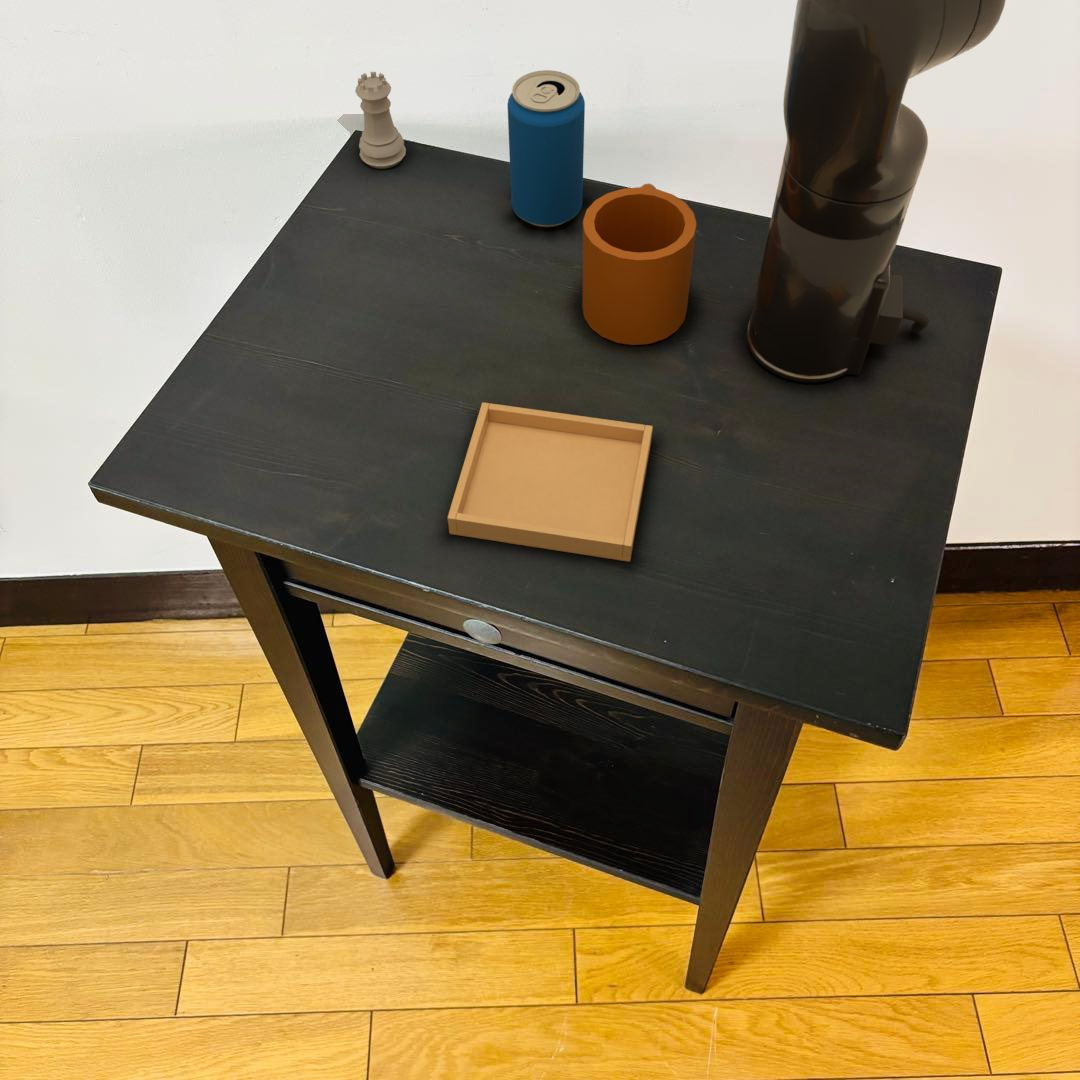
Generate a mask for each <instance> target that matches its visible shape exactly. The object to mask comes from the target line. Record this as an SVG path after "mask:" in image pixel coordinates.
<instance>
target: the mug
mask: <svg viewBox="0 0 1080 1080" xmlns="http://www.w3.org/2000/svg"><path fill="white" fill-rule="evenodd" d="M696 233H697V221H696V217H695V213H694V212H693V209H691V208H690V206H689V204H687V203H686V202H685V201H683V200H682V199H681V198H679V197H678V196H677V195H674V194H673V193H671V192H670V193H669V192H667V191H663V190H661V189H658V188H656V186H655V185H654V184H651V183H644V184H643V185H641V186H638V187H626V188H625V187H624V188H621V189H617V190H614V191H611V192H607V193H606V194H604V195H601V196H600V197H599V198H597V199H595V200H594V201H593V202H592V203H591V205H589V207H588V208H586V210H585V214H584V217H583V220H582V305H581V306H582V313H583V318H584V320H585V321H586V323H587V324H588V326H589V327H590V329H591V330H592V331H594V332H595V333H597V334H598V335H599V336H600V337H602V338H604V339H607V340H609V341H611V342H614V343H617V344H623V345H629V346H640V345H650V344H653V343H657V342H661V341H663V340H666V339H667V338H668V337H670V336H672V335H673V334H675V333H676V332H677V331H678V330H679V329H680V328H681V326H682V325H683V324H684V322H685V320H686V315H687V311H688V304H689V294H690V285H691V277H692V268H693V258H694V249H695V242H696Z"/></svg>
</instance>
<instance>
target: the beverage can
mask: <svg viewBox="0 0 1080 1080" xmlns="http://www.w3.org/2000/svg"><path fill="white" fill-rule="evenodd" d="M511 91H512V92H511V94H510V95H509V96H508V100H507V124H508V145H509V146H508V151H509V154H508V155H509V172H510V174H509V176H510V198H511V199H510V200H511V201H510V202H511V203H510V204H511V208H512V211H513V212H514V213H515V215H516V217H518V218H519V219H521V220H523V221H524V222H526V223H529V224H531V225H534V226H536V227H542V228H551V227H557V226H560V225H563V224H564V223H566V222H569V221H571V220H572V219H574V218H575V217H576V216H577V215H578V214H579V213H580V211H581V209H582V207H583V198H584V197H583V193H584V191H583V190H584V189H583V188H584V187H583V186H584V151H585V112H586V102H585V98H584V96H583V94H582V92H581V88H580V84H579V82H578V81H577V80H576V79H575V78H574V76H573V77H572V76H571V75H570V74H568V73H565V72H562V71H558V70H550V69H546V70H545V69H543V70H536V71H531V72H528V73H526V74H523V75H522V76H521V77H519V78H518V79H516V81H515V82H514V83H513V85H512V88H511Z"/></svg>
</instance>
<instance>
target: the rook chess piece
mask: <svg viewBox="0 0 1080 1080" xmlns="http://www.w3.org/2000/svg"><path fill="white" fill-rule="evenodd" d="M360 77H361V78H360ZM360 77H359V78H357V85H356V87H355V91H354V92H355V93H356V96H357V97H358V98H359V99H360V100H361V102H360V105H359V106H360V109H361V111H363V127H364V128H363V131H361V136H360V137H359V144H358V148H359V150H360V151H359V157H360V159H361V161H362V162H364V164H366V165H367V166H369V167H371V168H373V169H378V170H379V169H380V170H381V169H389V168H393V167H395V166H397V165H399V164H400V162H401V161H403V159H404V157H405V156H406V152H407V148H406V146H405V140H404V137H403V136H402V134H401V132H399V130H398V129H397V127H396V126H395V125H394V122H393V118H392V115H391V109H390V107H391V105H392V102H391V100H390V98H388V96H389V95H390V93H391V91H392V86H391V84H390V83H389V82H388V81H387V78H386V77H385V75H384V74H383V73H381V72H379V73H378V76H377V71H370V76H368V74H367V73H366V72H364V73H363V74H361V75H360Z"/></svg>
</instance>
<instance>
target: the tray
mask: <svg viewBox="0 0 1080 1080" xmlns="http://www.w3.org/2000/svg"><path fill="white" fill-rule="evenodd" d="M653 429H654V425H648V424H642V423H635V422H627V421H619V420H613V419H606V418H599V417H591V416H585V415H577V414H570V413H563V412H562V413H561V412H555V411H549V410H541V409H534V408H526V407H519V406H512V405H506V404H497V403H489V402H484V401H483V402H481V404H480V409H479V412H478V415H477V419H476V422H475V425H474V428H473V432H472V435H471V438H470V441H469V445H468V448H467V450H466V455H465V458H464V462H463V464H462V468H461V471H460V474H459V478H458V481H457V485H456V488H455V492H454V495H453V498H452V501H451V505H450V507H449V511H448V514H447V517H446V518H447V524H448V525H447V526H448V532H449V535H453V536H454V535H455V536H460V537H461V536H462V537H467V538H474V539H480V540H485V541H493V542H500V543H506V544H512V545H519V546H525V547H531V548H539V549H544V550H552V551H558V552H565V553H570V554H577V555H582V556H591V557H595V558H596V557H597V558H602V559H610V560H614V561H615V560H616V561H622V562H629V563H630V562H631V561H632V553H633V548H634V541H635V536H636V531H637V524H638V520H639V513H640V508H641V502H642V496H643V490H644V485H645V480H646V474H647V468H648V463H649V457H650V452H651V444H652V438H653Z"/></svg>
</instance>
